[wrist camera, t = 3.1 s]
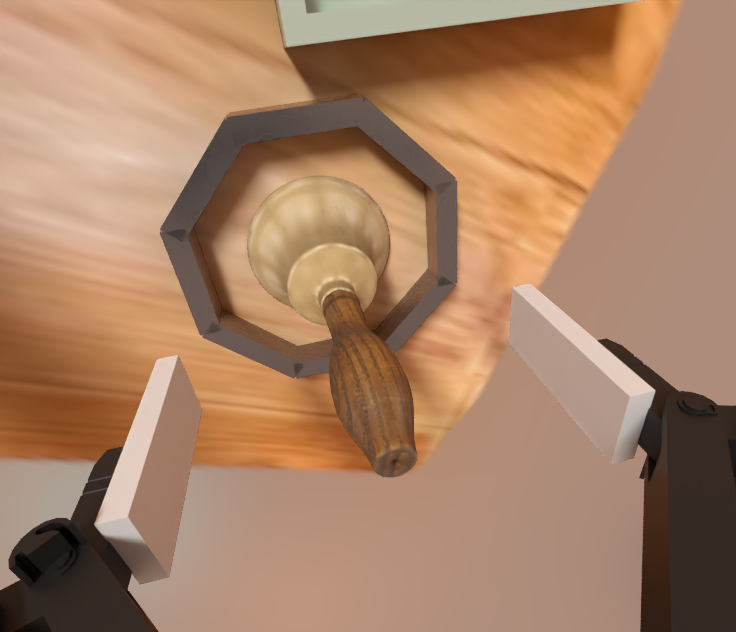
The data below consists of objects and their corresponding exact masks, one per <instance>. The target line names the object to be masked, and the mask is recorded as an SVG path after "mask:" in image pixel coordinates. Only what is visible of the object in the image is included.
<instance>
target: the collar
mask: <svg viewBox="0 0 736 632" xmlns="http://www.w3.org/2000/svg"><path fill="white" fill-rule="evenodd" d="M356 126H357V127H358V128H359V129H360V130H362V131H363V132H364V133H365V134H366V135H368V136H369V137H370V138H371V139H372V140H374V141H375V142H376V143H377V144H378V145H379V146H381V147H382V148H383V149H384V150H385V151H387V152H388V153H389V154H390V155H391V156H393V157H394V158H395V159H396V160H397V161H399V162H400V163H401V164H402V165H403V166H404V167H406V168H407V169H408V170H409V171H410V172H412V173H413V174H414V175H415V176H416V177H418V178H419V179H420V180H421V181H422V182H424V183H425V198H426V223H427V249H428V269H427V270H426V272H425V273H424V274H423V275H422V276H421V277H420V279H419V280H418V281H417V282H416V283H415V285H414V286H413V287H412V288H411V289H410V290H409V292H408V293H407V294H406V295H405V296H404V297H403V299H402V300H401V301H400V302H399V303H398V305H397V306H396V307H395V308H394V309H393V310H392V312H391V313H390V314H389V315H388V316H387V318H386V319H385V320H384V321H383V322H382V323H381V325H380V326H379V327H378V328H377V329H376V330H372V331H371V332H373V333H374V334H375V335H376V336H378V337H379V338H380V339H381V340H382V341H383V342H384V343H385V344H386V345H387V346H388V347H389V349H390V350H391V351H392V353H393V354H395V353H396V352H397V351H398V350H399V349H400V348H401V346H402V345H403V344H404V343H405V342H406V341H407V340H408V339H409V337H410V336H411V335H412V334H413V333H414V332H415V331H416V330H417V328H418V327H419V326H420V325H421V324H422V323H423V322H424V320H425V319H426V318H427V317H428V316H429V315H430V314H431V313H432V311H433V310H434V309H435V308H436V307H437V306H438V305H439V304H440V302H441V301H442V300H443V299H444V298H445V297H446V296H447V295H448V293H449V292H450V291H451V290H452V289H453V288H454V287H455V286H456V285H455V284H454V283H457V180H455V177H454V176H453V175H452V174H451V173H450V172H448V171H447V170H446V169H445V168H444V167H443V166H442V165H441V164H440V163H438V162H437V161H436V160H435V159H434V158H433V157H432V156H431V155H429V154H428V153H427V152H426V151H425V150H424V149H423V148H422V147H420V146H419V145H418V144H417V143H416V142H415V141H414V140H413V139H411V138H410V137H409V136H408V135H407V134H406V133H405V132H404V131H402V130H401V129H400V128H399V127H398V126H397V125H396V124H395V123H393V122H392V121H391V120H390V119H389V118H388V117H387V116H386V115H384V114H383V113H382V112H381V111H380V110H379V109H378V108H377V107H376V106H374V105H373V104H372V103H371V102H370V101H369V100H368V99H367V98H365V97H362V96H360V95H356V94H354V95H347V96H340V97H333V98H326V99H320V100H313V101H306V102H299V103H292V104H285V105H279V106H272V107H265V108H258V109H251V110H244V111H238V112H231V113H229V115H227V116H226V117H225V119H224V121H223V122H222V124H221V126H220V127H219V129H218V131H217V133H216V134H215V136H214V138H213V139H212V141H211V143H210V145H209V146H208V148H207V150H206V151H205V153H204V155H203V157H202V158H201V160H200V162H199V163H198V165H197V167H196V169H195V170H194V172H193V174H192V175H191V177H190V179H189V181H188V182H187V184H186V186H185V187H184V189H183V191H182V193H181V194H180V196H179V198H178V199H177V201H176V203H175V205H174V206H173V208H172V210H171V211H170V213H169V215H168V217H167V218H166V220H165V222H164V223H163V225H162V227H161V229H160V230H161V231H160V235H161V237H162V240H163V242H164V245H165V247H166V250H167V253H168V255H169V258H170V260H171V263H172V265H173V268H174V270H175V273H176V275H177V278H178V280H179V283H180V285H181V288H182V290H183V293H184V295H185V298H186V300H187V303H188V306H189V308H190V311H191V313H192V316H193V318H194V321H195V323H196V326H197V328H198V331H199V333H200V335H203V336H202V337H203V338H205V339H207V340H210V341H212V342H214V343H216V344H218V345H221V346H223V347H225V348H227V349H230V350H232V351H234V352H236V353H238V354H241V355H243V356H245V357H247V358H250V359H252V360H254V361H256V362H259V363H261V364H263V365H265V366H267V367H270V368H272V369H274V370H276V371H279V372H281V373H283V374H285V375H287V376H290V377H292V378H295V377H296V378H297V379H298V378H302V377H307V376H311V375H316V374H320V373H325V372H329V361H330V355H331V351H332V347H333V339H330V340H325V341H320V342H316V343H311V344H306V345H301V346H296V345H293V344H291V343H289V342H287V341H285V340H283V339H281V338H279V337H277V336H275V335H273V334H271V333H269V332H267V331H265V330H263V329H261V328H259V327H257V326H255V325H253V324H251V323H249V322H247V321H245V320H243V319H241V318H239V317H237V316H235V315H233V314H231V313H229V312H226V311H224V310H222V308H221V305H220V302H219V299H218V296H217V293H216V291H215V288H214V285H213V282H212V279H211V276H210V273H209V270H208V268H207V265H206V262H205V259H204V256H203V253H202V250H201V247H200V245H199V242H198V239H197V236H196V233H195V230H194V227H193V226H194V225H195V223H196V221H197V220H198V218H199V216H200V215H201V213H202V212H203V210H204V208H205V207H206V205H207V203H208V202H209V200H210V198H211V197H212V195H213V194H214V192H215V190H216V189H217V187H218V185H219V184H220V182H221V180H222V179H223V177H224V176H225V174H226V172H227V171H228V169H229V167H230V166H231V164H232V162H233V161H234V159H235V158H236V156H237V154H238V153H239V151H240V149H241V148H242V146H243V144H247V143H253V142H260V141H266V140H273V139H279V138H286V137H292V136H298V135H305V134H311V133H318V132H324V131H331V130H337V129H343V128H350V127H356Z"/></svg>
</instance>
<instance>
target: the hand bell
mask: <svg viewBox="0 0 736 632" xmlns="http://www.w3.org/2000/svg"><path fill="white" fill-rule="evenodd" d="M389 246H390V238H389V231H388V226H387V222H386V219H385V217H384V215H383V213H382V211H381V209H380V208H379V206H378V205H377V203H376V202H375V201H374V200H373V199H372V197H371V196H369V195H368V194H367V193H366V192H365V191H364V190H363V189H361V188H359V187H358V186H356V185H354V184H352V183H350V182H348V181H345V180H342V179H339V178H335V177H328V176H313V177H306V178H302V179H298V180H295V181H292V182H290V183H288V184H286V185H284V186H282V187H280V188H279V189H277V190H276V191H274V192H273V193H272V194H271V195H270V196H269V197H268V198H267V199H266V200H265V201H264V202H263V203H262V204H261V206H260V207H259V209H258V210H257V212H256V213H255V215H254V217H253V220H252V222H251V225H250V228H249V232H248V239H247V250H248V257H249V262H250V265H251V268H252V270H253V272H254V275H255V277H256V278H257V280H258V281H259V283H260V284H261V285H262V287H263V288H264V289H265V290H266V291H267V292H268V293H269V294H270V295H272V296H273V297H274V298H276V299H277V300H279V301H280V302H282V303H284V304H286V305H288V306H291V307H294V309H295V310H296V311H297V312H298V313H299V314H300V315H301V316H303V317H304V318H305V319H307V320H309V321H311V322H313V323H316V324H320V325H328V328H329V330H330V333H331V336H332V339H333V347H332V351H331V355H330V361H329V376H330V386H331V393H332V397H333V401H334V405H335V408H336V412H337V414H338V416H339V419H340V421H341V423H342V424H343V426H344V427H345V429H346V430H347V432H348V434H349V435H350V437H351V438H352V439H353V440H354V441H355V442H356V444H357V445H358V446H359V447H360V448H361V449H362V451H363V452H364V454H365V455H366V456H367V458H368V460H369V462H370V463H371V465H372V467H373V469H374V471H375V472H376V473H377V474H379V475H381V476H382V477H397V476H400V475H403V474H404V473H406V472H407V471H409V470H410V469H412V467H413V466H414V465H415V463H416V461H417V452H416V447H415V441H414V406H413V398H412V392H411V388H410V385H409V382H408V380H407V377H406V375H405V373H404V371H403V369H402V367H401V365H400V363H399V362H398V360H397V358H396V357H395V355H394V354H393V353H392V351H391V350H390V349H389V347H388V346H387V345H386V344H385V343H384V342H383V341H382V340H381V339H380V338H379V337H378V336H376V335H375V334H374V333H373V332H371V331H370V329H369V328H368V326H367V323H366V320H365V317H364V314H363V312H364V311H365V310H366V309H367V308H368V306H369V305H370V304H371V302H372V300H373V298H374V296H375V293H376V289H377V280H378V279H379V277H380V276H381V274H382V272H383V270H384V267H385V265H386V262H387V259H388V254H389Z"/></svg>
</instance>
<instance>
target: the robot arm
mask: <svg viewBox="0 0 736 632" xmlns="http://www.w3.org/2000/svg"><path fill="white" fill-rule="evenodd" d="M508 343H509V344H510V345H511V347H512V348H513V349H514V350H515V351H516V353H517V354H518V355H519V356H520V357H521V358H522V360H523V361H524V362H525V363H526V364H527V366H528V367H529V368H530V369H531V370H532V371H533V373H535V375H536V376H537V377H538V379H539V380H540V381H541V382H542V383H543V384H544V386H545V387H546V388H547V389H548V390H549V391H550V393H551V394H552V395H553V396H554V397H555V399H556V400H557V401H558V402H559V403H560V404H561V406H562V407H563V408H564V409H565V410H566V412H567V413H568V414H569V415H570V416H571V417H572V418H573V420H574V421H575V422H576V423H577V425H578V426H579V427H580V428H581V429H582V430H583V432H584V433H585V434H586V435H587V436H588V438H589V439H590V440H591V441H592V442H593V443H594V445H595V446H596V447H597V448H598V449H599V451H600V452H601V453H602V454H603V455H604V456H605V458H606V459H607V460H608V461H609V462H610V463H611V464H613V463H617V462H620V461H624V460H628V459H632V458H634V456H635V453H636V449H637V446H638V444H639V445H640V446H641V447H642V449H644V451H645V452H646V453H647V457H646V460H645V463H644V466H643V469H642V472H641V474H640V478H641V479H644V477H645V481H644V517H643V518H644V519H643V520H644V521H643V554H642V592H641V594H642V595H641V629H640V632H736V406H722V405H721V406H720V405H717V404H716V403H715V402H713V401H712V400H710V399H708V398H706V397H705V396H703V395H699V394H696V393H692V392H684V391H681V392H679V391H678V390H676V389H675V388H674V387H673V386H671V385H670V384H669V383H668V382H666V381H665V380H664V379H663V378H662V377H660V376H659V375H658V374H657V373H655V372H654V371H653V370H652V369H650V368H649V367H648V366H646V365H644V364H643V362H641V361H640V360H639V359H638V358H637V357H634V355H633V354H632V353H630V352H629V351H628V350H627V349H626V348H624V347H623V346H622V345H619V344H617V343H615V342H613V341H610V340H608V339H602V340H598V341H597V340H596V339H594V338H593V337H592V336H591V335H590V334H589V333H587V332H586V331H585V330H584V329H583V328H581V327H580V326H579V325H578V324H577V323H576V322H575V321H573V320H572V319H571V318H570V317H569V316H567V315H566V314H565V313H564V312H563V311H562V310H560V309H559V308H558V307H557V306H556V305H555V304H553V303H552V302H551V301H550V300H549V299H547V298H546V297H545V296H544V295H543V294H542V293H541V292H539V291H538V290H537V289H536V288H535V287H534V286H532V285H531V284H526V285H521V286H516V287H512V300H511V313H510V326H509V340H508ZM201 412H202V408H201V406H200V403H199V401H198V399H197V396H196V394H195V392H194V390H193V387H192V385H191V383H190V380H189V378H188V376H187V374H186V371H185V369H184V367H183V364H182V362H181V360H180V358H179V355H176V356H171V357H166V358H161V359H157V361H156V363H155V366H154V368H153V371H152V374H151V376H150V379H149V382H148V384H147V387H146V390H145V392H144V395H143V397H142V400H141V403H140V405H139V408H138V411H137V413H136V416H135V418H134V421H133V424H132V426H131V429H130V432H129V434H128V437H127V440H126V442H125V445H124V446H123V447H119V448H114V449H110V450H107V451H106V452H105V453H104V454H103V456H102V457H101V458H100V459H99V460H98V461H97V463H96V464H95V465H94V467H93V469H92V472H91V474H90V476H89V479H88V483H86V486H85V488H84V490H83V495H82V496H81V497H80V499H79V501H78V504H77V506H76V508H75V511H74V513H73V515H72V518H71V520H68V519H67V518H55V519H52V520H49V521H46V522H44V523H42V524H40V525H39V526H37V527H35V528H33V529H32V530H31V531H30V532H29V533H27V534H26V535H25V536H24V537H23V538H21V540H20V541H19V543H18V544H17V545H16V546H15V547H14V549H13V550H12V553H11V555H10V558H9V569H10V570H11V571H12V572H13V573H14V574H16V576H17V577H18V578H20V579H21V580H19V581H17V582H16V583H14V584H12V585H10V586H8V587H6V588H4V589H2V590H0V632H158V630H157V629H156V628H155V626H154V625H153V623H152V622H151V621H150V620H149V618H148V617H147V616H146V614H145V612H144V611H143V610H142V608H141V607H140V606H139V604H138V603H137V601H136V600H135V599H134V598H133V596H132V595H131V593H130V592H129V591H128V590H127V589H128V585H129V582H130V578H131V574H133V576H134V577H135V578H136V580H137V581H138V582H139V583H140V584H144V583H148V582H152V581H156V580H160V579H163V578H167V577H169V576H170V570H171V566H172V561H173V556H174V550H175V545H176V540H177V535H178V530H179V525H180V519H181V515H182V509H183V504H184V499H185V494H186V488H187V484H188V479H189V473H190V469H191V464H192V458H193V453H194V448H195V443H196V438H197V433H198V428H199V423H200V418H201Z"/></svg>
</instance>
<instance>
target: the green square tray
mask: <svg viewBox="0 0 736 632" xmlns="http://www.w3.org/2000/svg"><path fill="white" fill-rule="evenodd" d="M636 1H643V0H275V3H276V9H277V14H278V20H279V25H280V31H281V36H282V41H283V47H284V48H288V47H296V46H304V45H311V44H319V43H327V42H334V41H342V40H350V39H357V38H365V37H372V36H380V35H388V34H395V33H403V32H411V31H418V30H426V29H434V28H441V27H449V26H457V25H464V24H472V23H479V22H487V21H495V20H502V19H510V18H518V17H525V16H533V15H541V14H548V13H556V12H564V11H571V10H579V9H587V8H594V7H602V6H608V5H615V4H622V3H629V2H636Z"/></svg>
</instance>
